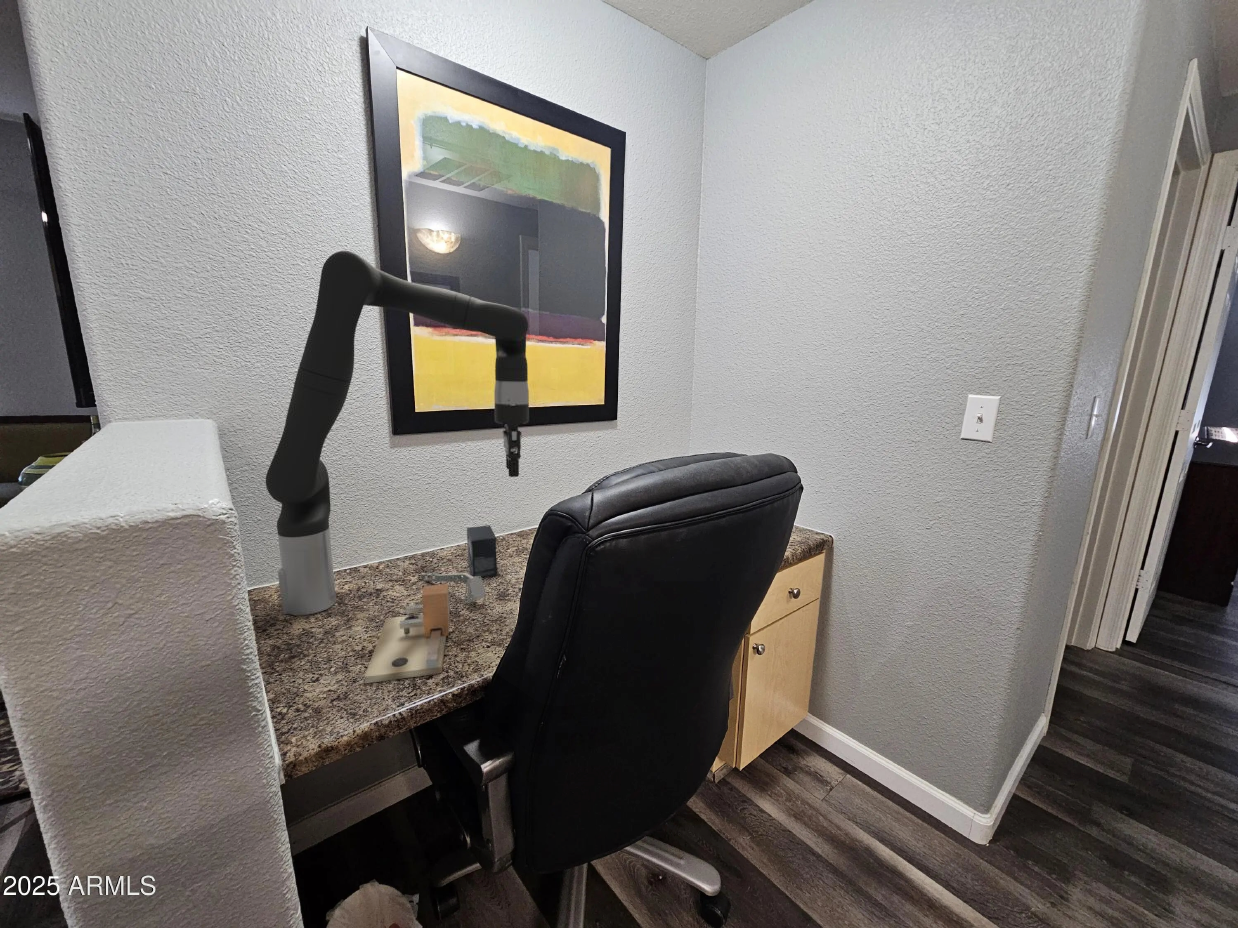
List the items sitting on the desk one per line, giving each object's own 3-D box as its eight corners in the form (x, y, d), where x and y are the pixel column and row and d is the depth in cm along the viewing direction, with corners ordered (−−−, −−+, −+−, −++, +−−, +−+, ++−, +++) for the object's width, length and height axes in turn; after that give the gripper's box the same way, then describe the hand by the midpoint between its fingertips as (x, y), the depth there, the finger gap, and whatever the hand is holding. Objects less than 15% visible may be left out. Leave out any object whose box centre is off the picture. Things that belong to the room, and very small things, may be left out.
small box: (467, 564, 131) (465, 526, 129) (491, 560, 133) (490, 524, 131) (471, 579, 121) (470, 539, 119) (498, 575, 124) (497, 536, 122)
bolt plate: (364, 683, 81) (364, 676, 80) (386, 623, 100) (386, 617, 99) (441, 672, 84) (441, 666, 84) (448, 616, 103) (448, 611, 103)
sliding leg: (399, 640, 91) (396, 597, 89) (402, 629, 95) (399, 588, 93) (448, 634, 93) (446, 592, 92) (450, 624, 97) (448, 583, 95)
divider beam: (391, 673, 82) (390, 657, 81) (407, 615, 100) (407, 602, 100) (441, 666, 84) (440, 650, 83) (448, 611, 103) (447, 598, 102)
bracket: (475, 601, 106) (461, 557, 107) (428, 614, 119) (415, 575, 120) (487, 596, 108) (473, 553, 109) (439, 609, 121) (427, 571, 122)
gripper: (493, 399, 114) (494, 467, 117) (495, 403, 101) (496, 479, 104) (525, 400, 117) (525, 466, 120) (532, 404, 103) (532, 478, 106)
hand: (512, 472), depth 112 cm, fingers open, 8 cm apart
